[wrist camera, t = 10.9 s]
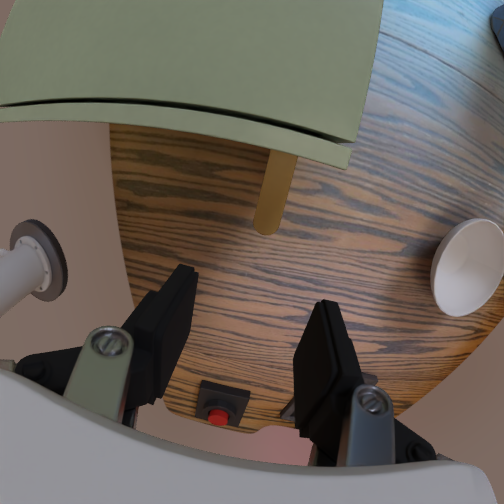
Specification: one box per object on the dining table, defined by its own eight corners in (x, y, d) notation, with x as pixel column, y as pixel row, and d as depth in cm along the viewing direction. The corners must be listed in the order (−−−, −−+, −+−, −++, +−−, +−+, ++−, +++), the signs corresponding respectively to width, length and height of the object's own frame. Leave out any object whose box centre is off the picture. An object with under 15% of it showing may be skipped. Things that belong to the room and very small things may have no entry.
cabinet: (301, 144, 35) (355, 143, 10) (133, 114, 35) (-18, 108, 10) (329, 30, 28) (389, -89, 4) (164, 9, 28) (62, -76, 3)
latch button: (226, 421, 52) (225, 427, 50) (208, 416, 52) (207, 422, 50) (230, 411, 50) (228, 418, 49) (210, 407, 50) (209, 413, 49)
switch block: (238, 420, 57) (236, 433, 53) (196, 410, 57) (193, 423, 53) (250, 391, 52) (248, 405, 48) (202, 379, 52) (198, 393, 48)
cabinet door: (287, 195, 37) (306, 292, 13) (125, 160, 37) (-22, 200, 13) (300, 146, 35) (352, 148, 11) (133, 116, 35) (-17, 111, 10)
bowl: (468, 297, 41) (486, 316, 34) (402, 293, 41) (419, 316, 35) (492, 216, 35) (517, 228, 28) (427, 199, 35) (451, 210, 29)
